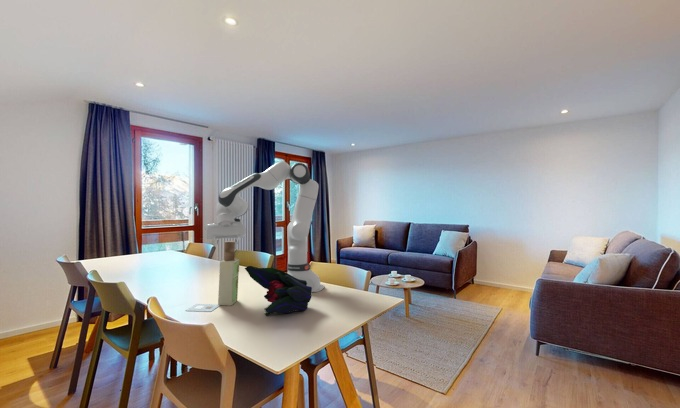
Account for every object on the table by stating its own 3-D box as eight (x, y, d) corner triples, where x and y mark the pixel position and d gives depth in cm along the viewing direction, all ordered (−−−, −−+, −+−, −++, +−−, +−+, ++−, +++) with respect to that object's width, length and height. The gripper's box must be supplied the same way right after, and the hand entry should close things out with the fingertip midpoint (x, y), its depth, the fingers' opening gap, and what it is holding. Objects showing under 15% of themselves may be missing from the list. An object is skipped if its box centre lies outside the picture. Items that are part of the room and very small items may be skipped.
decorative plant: (303, 335, 130) (233, 327, 120) (296, 296, 153) (237, 286, 142) (320, 298, 125) (248, 286, 114) (310, 263, 148) (250, 250, 137)
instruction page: (220, 305, 142) (220, 304, 142) (211, 311, 133) (211, 311, 133) (196, 304, 143) (196, 303, 143) (185, 310, 134) (185, 310, 134)
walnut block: (233, 258, 148) (234, 240, 148) (234, 260, 144) (235, 242, 144) (223, 259, 146) (224, 240, 146) (224, 260, 142) (225, 242, 142)
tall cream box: (233, 305, 141) (234, 261, 141) (217, 305, 141) (219, 261, 141) (239, 300, 149) (240, 258, 149) (224, 299, 149) (226, 258, 149)
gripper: (204, 220, 157) (205, 240, 148) (245, 219, 166) (247, 238, 157) (204, 227, 161) (204, 248, 152) (243, 226, 170) (246, 246, 161)
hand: (226, 243), depth 155 cm, fingers open, 8 cm apart
